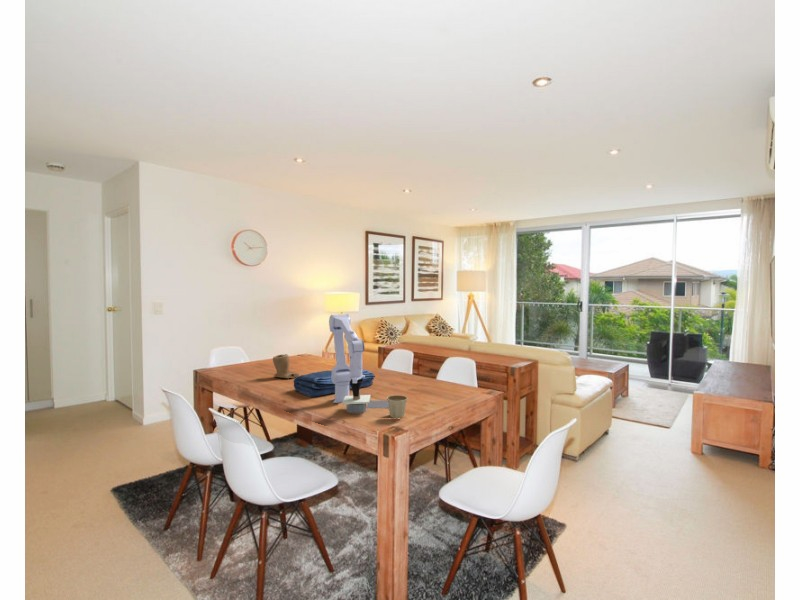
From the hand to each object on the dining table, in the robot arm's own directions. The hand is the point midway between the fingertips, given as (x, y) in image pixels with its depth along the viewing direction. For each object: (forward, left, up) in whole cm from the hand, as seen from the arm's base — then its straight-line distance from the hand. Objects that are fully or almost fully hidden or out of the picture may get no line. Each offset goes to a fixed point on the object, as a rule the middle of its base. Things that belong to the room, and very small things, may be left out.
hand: (356, 395), depth 197 cm
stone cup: (-73, -53, -8) cm, 91 cm away
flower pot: (+8, +19, -8) cm, 22 cm away
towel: (-46, -17, -8) cm, 50 cm away
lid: (0, 0, -2) cm, 2 cm away
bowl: (0, 0, -8) cm, 8 cm away
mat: (-10, +11, -8) cm, 17 cm away
